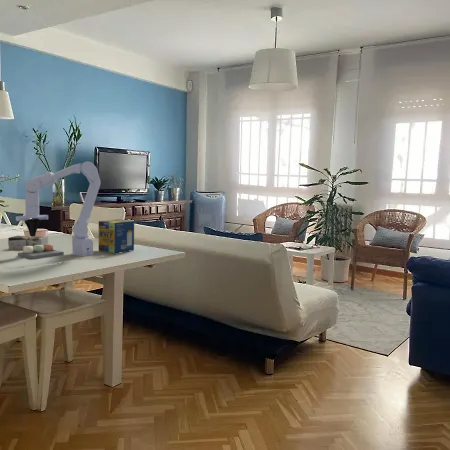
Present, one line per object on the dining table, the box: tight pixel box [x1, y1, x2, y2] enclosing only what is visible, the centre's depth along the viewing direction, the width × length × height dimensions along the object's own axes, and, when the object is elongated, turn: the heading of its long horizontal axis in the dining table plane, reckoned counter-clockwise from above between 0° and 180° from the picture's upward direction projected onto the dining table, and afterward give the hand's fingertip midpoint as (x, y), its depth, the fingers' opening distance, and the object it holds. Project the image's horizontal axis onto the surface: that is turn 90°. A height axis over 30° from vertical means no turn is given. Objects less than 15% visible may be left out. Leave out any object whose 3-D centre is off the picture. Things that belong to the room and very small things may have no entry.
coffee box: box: [7, 235, 49, 251], centre depth 225 cm, size 9×6×16 cm
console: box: [17, 249, 65, 260], centre depth 205 cm, size 12×15×2 cm
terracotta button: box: [43, 243, 54, 251], centre depth 210 cm, size 4×4×3 cm
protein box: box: [98, 218, 135, 255], centre depth 228 cm, size 10×15×16 cm
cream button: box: [22, 246, 34, 254], centre depth 202 cm, size 4×4×3 cm
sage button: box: [33, 245, 44, 253], centre depth 206 cm, size 4×4×3 cm
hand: (32, 236), depth 204 cm, fingers closed
